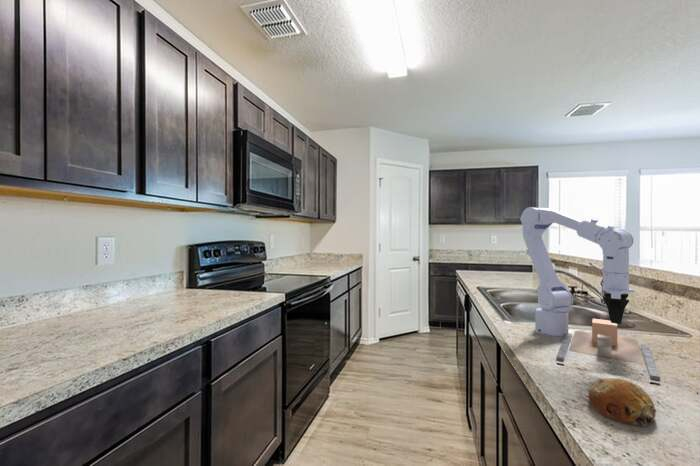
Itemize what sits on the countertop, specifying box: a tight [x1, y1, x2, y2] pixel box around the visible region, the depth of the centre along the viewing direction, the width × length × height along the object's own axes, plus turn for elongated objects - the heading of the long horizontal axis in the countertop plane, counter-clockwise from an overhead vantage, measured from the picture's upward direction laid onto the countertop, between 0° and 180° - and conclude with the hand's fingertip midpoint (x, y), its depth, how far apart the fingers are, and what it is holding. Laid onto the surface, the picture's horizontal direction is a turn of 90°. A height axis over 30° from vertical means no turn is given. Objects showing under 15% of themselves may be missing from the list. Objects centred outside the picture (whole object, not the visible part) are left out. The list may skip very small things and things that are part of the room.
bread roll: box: [588, 377, 657, 426], centre depth 64 cm, size 10×10×8 cm
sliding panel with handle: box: [568, 330, 645, 365], centre depth 98 cm, size 16×24×6 cm, turn 142°
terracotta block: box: [591, 318, 618, 346], centre depth 101 cm, size 6×6×6 cm
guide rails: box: [555, 332, 661, 386], centre depth 91 cm, size 20×26×2 cm
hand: (615, 320), depth 94 cm, fingers open, 7 cm apart
